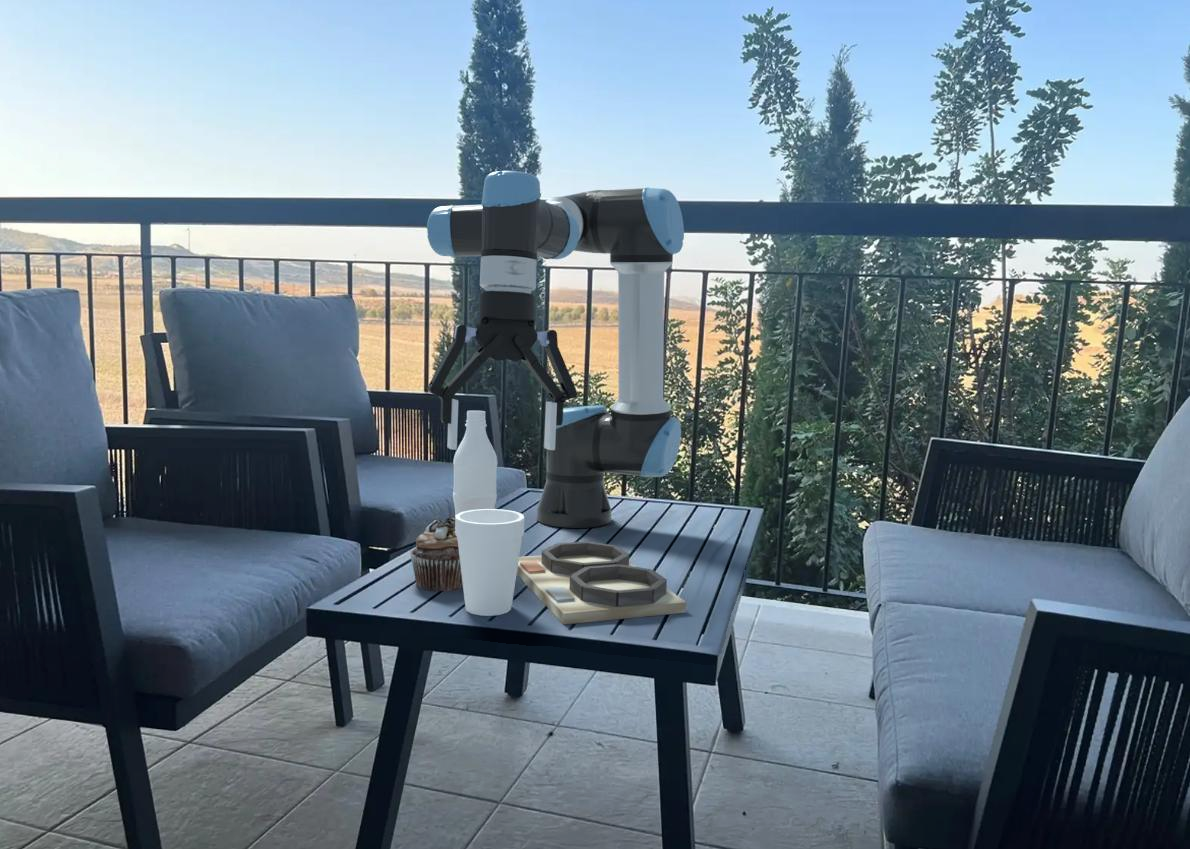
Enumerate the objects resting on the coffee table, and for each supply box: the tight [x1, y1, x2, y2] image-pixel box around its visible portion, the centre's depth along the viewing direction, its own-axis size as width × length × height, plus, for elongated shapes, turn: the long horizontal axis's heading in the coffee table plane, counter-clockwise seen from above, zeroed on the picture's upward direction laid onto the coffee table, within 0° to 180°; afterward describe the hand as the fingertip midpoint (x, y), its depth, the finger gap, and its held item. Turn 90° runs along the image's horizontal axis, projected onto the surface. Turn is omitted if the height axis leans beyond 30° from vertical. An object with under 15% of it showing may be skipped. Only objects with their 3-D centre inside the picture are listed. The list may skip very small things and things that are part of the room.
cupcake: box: [410, 515, 463, 592], centre depth 128 cm, size 10×10×10 cm
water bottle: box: [452, 410, 499, 515], centre depth 139 cm, size 7×7×25 cm
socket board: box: [516, 541, 687, 625], centre depth 129 cm, size 28×18×4 cm, turn 20°
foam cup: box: [454, 508, 525, 617], centre depth 118 cm, size 10×9×13 cm
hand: (501, 449), depth 116 cm, fingers open, 13 cm apart
